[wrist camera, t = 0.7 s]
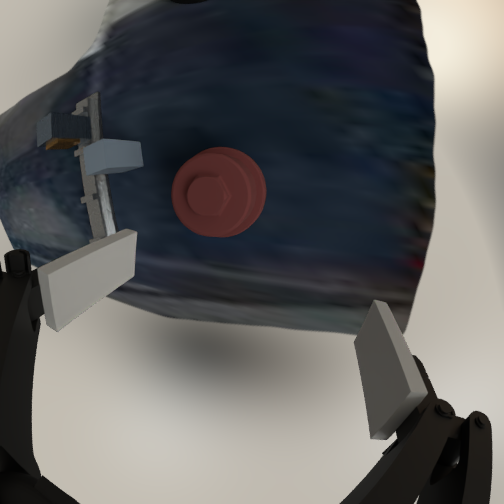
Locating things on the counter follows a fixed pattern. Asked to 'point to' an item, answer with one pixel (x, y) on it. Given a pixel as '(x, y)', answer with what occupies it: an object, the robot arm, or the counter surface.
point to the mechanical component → (219, 192)
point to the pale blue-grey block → (112, 156)
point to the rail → (83, 134)
